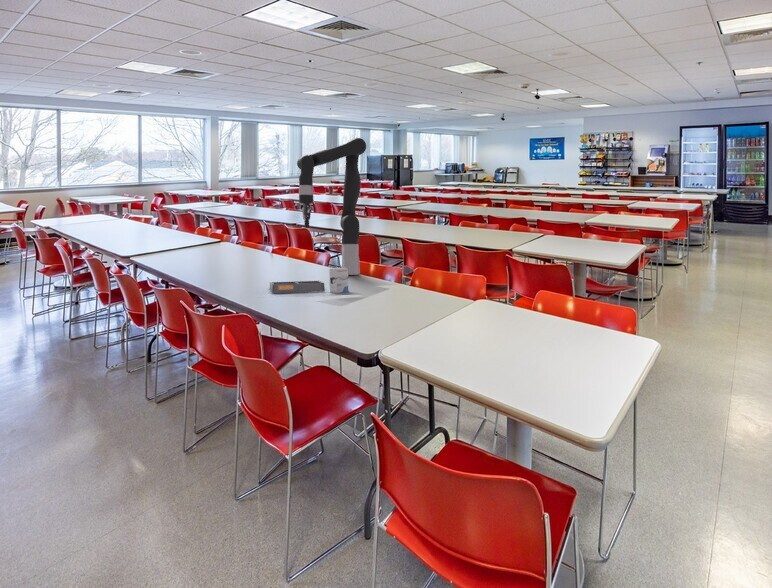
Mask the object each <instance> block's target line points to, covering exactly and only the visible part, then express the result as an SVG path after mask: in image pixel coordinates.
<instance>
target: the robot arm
mask: <svg viewBox="0 0 772 588" xmlns="http://www.w3.org/2000/svg"><path fill="white" fill-rule="evenodd" d="M366 149H367V143H366V141H365V139H364V138H362V137H354V138H352V139H350V140H348V141H347V142H346V143H344V144H340V145H337V146H334V147H331V148H325V149H322V150H318V151H316V152H314V153H312V154H305V155H302V156H301V157H299V158H298V159H297V161H296V166H297V168H299V170H301V171H300V174H299V177H298V183H299V185H298V186H299V187H298V202H299V204H301V205H302V207H301V209H302V210H301V211H302V212H301V213H302V219H303V221H304V228H305V229H307V228H310V219H311V213H312V209H311V208H312V207H311V206H310V205H312V204H314V186H313V184H314V183H313V181H314V180H313V175H314V169H315V167H318V166H321V165H325V164H328V163H331V162H334V161H337V160H339V159H342V158H345V169H344V180H343V193H342V195H343V197H342V203H343V204H342V211H341V216H340V221H339V222H340V223H339V224H340V228H341V230H342V239H341V268H348V276H353V275H354V276H357V275H361V274H360V273H361V271H360V267H361V266H360V264H361V263H360V256H359V240H360V220H359V218H358V217H357V216H356V208H357V207H356V206H357V203H358V200H359V197H360V193H361V185H362V184H361V183H362V181H361V180H362V179H361V175H360V171H359V158H360V156H361V155H363V154H364V153H365V152H366Z"/></svg>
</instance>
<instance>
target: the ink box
mask: <svg viewBox="0 0 772 588" xmlns="http://www.w3.org/2000/svg"><path fill="white" fill-rule="evenodd" d="M344 291H346V292H349V275H348V268H342V267H337V268H336V267H335V268H334V267H333V268H329V293H333V294H339V293H345V292H344Z"/></svg>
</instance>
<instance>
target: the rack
mask: <svg viewBox="0 0 772 588" xmlns="http://www.w3.org/2000/svg"><path fill="white" fill-rule="evenodd" d="M270 289H271V290H270ZM269 290H270V291H271V294H272V295H274V294H276V295H277V294H294V293H300V292H303V293H309V292H312V291H317V292H321V291H325V282H323V281H321V280H303V281H301V280H300V281H270V282H269Z"/></svg>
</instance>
